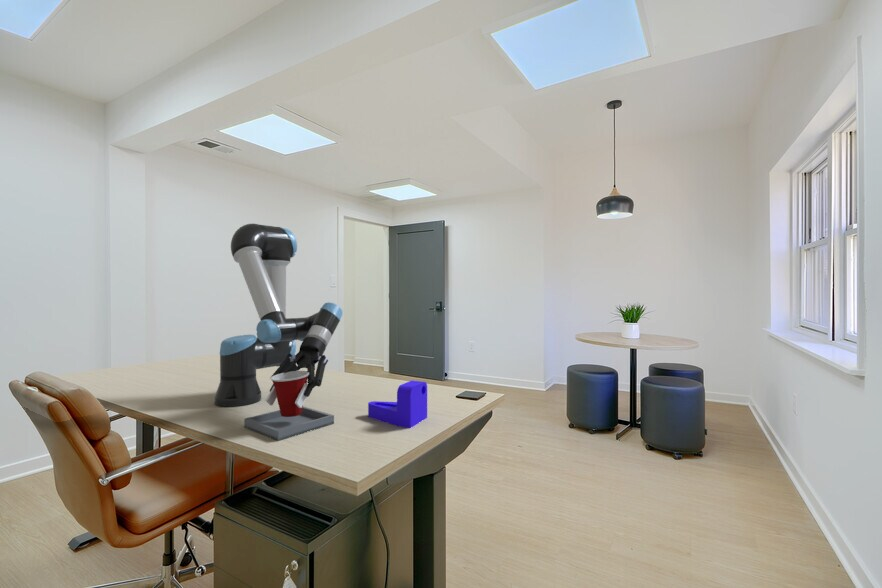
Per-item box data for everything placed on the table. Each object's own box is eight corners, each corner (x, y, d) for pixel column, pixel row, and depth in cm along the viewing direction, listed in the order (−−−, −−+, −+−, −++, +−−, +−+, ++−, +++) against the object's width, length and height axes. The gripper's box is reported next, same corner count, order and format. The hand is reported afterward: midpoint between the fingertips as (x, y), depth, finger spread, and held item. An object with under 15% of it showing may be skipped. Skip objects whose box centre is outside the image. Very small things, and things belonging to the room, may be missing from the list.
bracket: (427, 418, 128) (427, 380, 128) (410, 428, 118) (410, 387, 118) (378, 411, 136) (378, 375, 136) (359, 420, 126) (359, 382, 126)
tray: (244, 427, 119) (244, 418, 119) (299, 412, 133) (299, 405, 133) (278, 440, 108) (278, 431, 108) (334, 423, 122) (334, 415, 122)
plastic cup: (265, 414, 121) (264, 373, 121) (300, 407, 128) (300, 369, 128) (279, 422, 113) (278, 379, 113) (316, 414, 120) (315, 373, 120)
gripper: (349, 351, 132) (321, 414, 117) (292, 348, 138) (258, 408, 123) (340, 336, 127) (310, 400, 112) (281, 334, 133) (245, 394, 118)
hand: (283, 404), depth 117 cm, fingers closed on plastic cup, 9 cm apart
